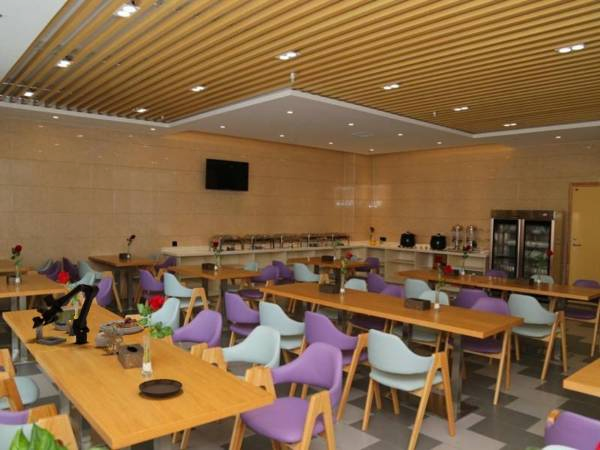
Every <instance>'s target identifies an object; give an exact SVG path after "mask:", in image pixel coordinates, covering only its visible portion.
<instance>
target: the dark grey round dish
mask: <svg viewBox="0 0 600 450" xmlns="http://www.w3.org/2000/svg"><path fill="white" fill-rule="evenodd" d="M36 340H37V341H36V342H37V344H39V345H45V346H50V347H51V346H52V347H53V346H55V345H59V344H63V343H67V338H65V337H58V336H55V335H53V336H49V337H45V338H42V339H36Z"/></svg>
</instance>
